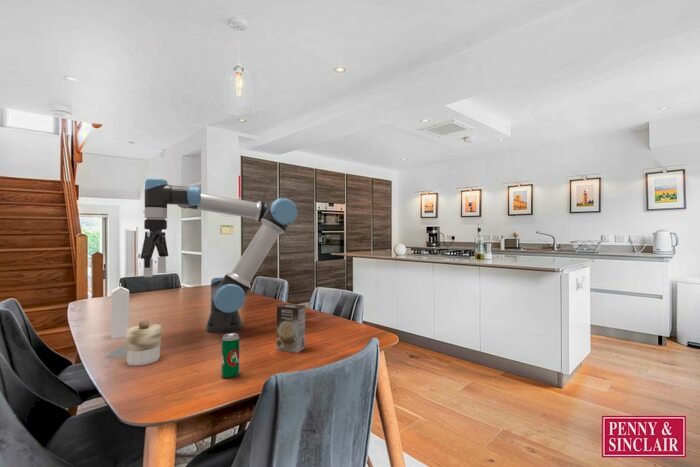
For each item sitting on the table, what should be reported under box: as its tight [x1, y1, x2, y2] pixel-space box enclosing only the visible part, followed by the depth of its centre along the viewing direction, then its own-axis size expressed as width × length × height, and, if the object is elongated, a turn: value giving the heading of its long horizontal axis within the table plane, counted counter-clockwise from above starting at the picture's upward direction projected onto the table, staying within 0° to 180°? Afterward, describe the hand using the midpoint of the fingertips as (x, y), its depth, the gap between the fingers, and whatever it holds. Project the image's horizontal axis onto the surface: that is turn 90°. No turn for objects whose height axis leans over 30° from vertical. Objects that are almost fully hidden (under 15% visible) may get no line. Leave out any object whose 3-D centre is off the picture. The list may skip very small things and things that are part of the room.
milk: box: [110, 282, 130, 340], centre depth 139 cm, size 6×6×22 cm
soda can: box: [220, 332, 241, 379], centre depth 100 cm, size 5×5×12 cm
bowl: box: [126, 345, 161, 366], centre depth 111 cm, size 9×9×5 cm
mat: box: [104, 345, 127, 359], centre depth 120 cm, size 12×12×1 cm
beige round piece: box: [125, 320, 162, 351], centre depth 111 cm, size 10×10×8 cm
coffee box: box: [275, 303, 306, 354], centre depth 124 cm, size 9×6×16 cm
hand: (155, 274), depth 129 cm, fingers open, 13 cm apart
